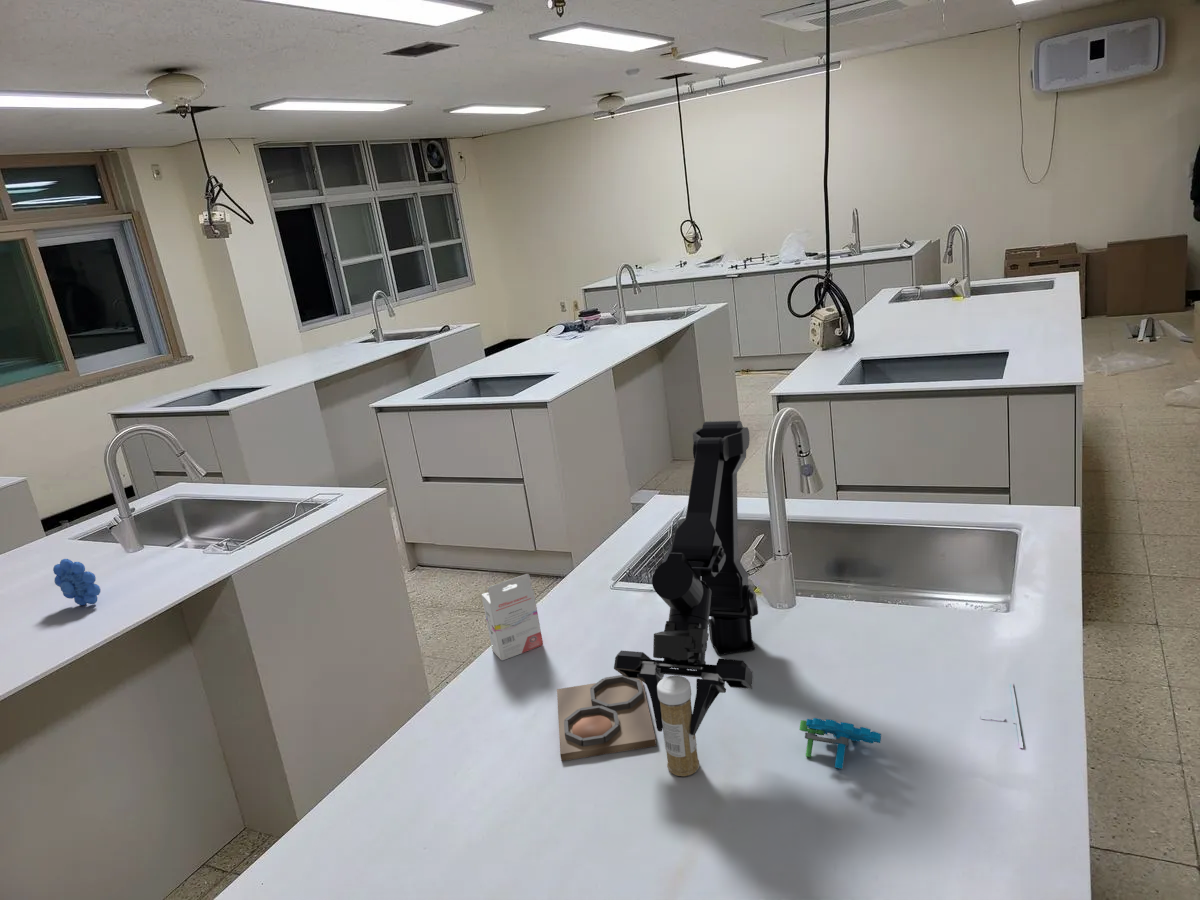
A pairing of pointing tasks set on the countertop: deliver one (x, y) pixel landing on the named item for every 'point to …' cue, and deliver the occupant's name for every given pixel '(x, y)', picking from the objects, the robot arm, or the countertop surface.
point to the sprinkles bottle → (678, 725)
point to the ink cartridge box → (512, 617)
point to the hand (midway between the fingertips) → (675, 732)
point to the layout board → (604, 718)
